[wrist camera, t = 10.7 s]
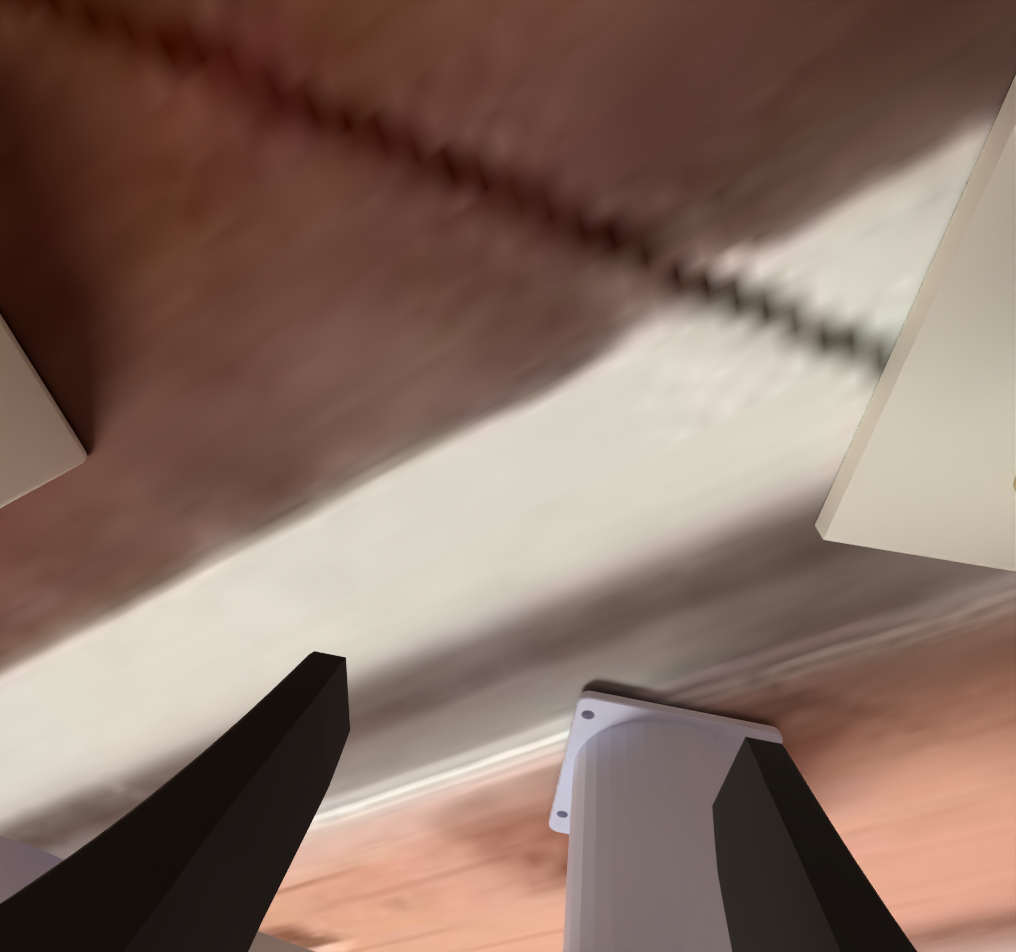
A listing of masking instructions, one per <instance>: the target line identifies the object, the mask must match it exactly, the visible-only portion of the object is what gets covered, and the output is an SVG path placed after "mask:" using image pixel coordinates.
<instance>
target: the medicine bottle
mask: <svg viewBox="0 0 1016 952" xmlns="http://www.w3.org/2000/svg"><path fill="white" fill-rule="evenodd" d="M86 459H87V453H86V451H85V449H84V447H83V446H82V444H81V443H80V441H79V439H78V438H77V436H76V435H75V433H74V431H73V430H72V428H71V427H70V425H69V423H68V422H67V420H66V419H65V417H64V415H63V414H62V412H61V411H60V409H59V407H58V406H57V404H56V402H55V401H54V399H53V398H52V396H51V394H50V393H49V391H48V390H47V388H46V386H45V385H44V383H43V382H42V380H41V378H40V377H39V375H38V374H37V372H36V370H35V369H34V367H33V366H32V364H31V362H30V361H29V359H28V357H27V356H26V354H25V353H24V351H23V349H22V348H21V346H20V345H19V343H18V341H17V340H16V338H15V337H14V335H13V333H12V332H11V330H10V329H9V327H8V325H7V324H6V322H5V321H4V319H3V317H2V316H1V314H0V508H1V507H3V506H5V505H7V504H9V503H10V502H12V501H14V500H16V499H18V498H20V497H21V496H23V495H25V494H27V493H29V492H31V491H32V490H34V489H36V488H38V487H40V486H42V485H43V484H45V483H47V482H49V481H51V480H53V479H54V478H56V477H58V476H60V475H62V474H64V473H65V472H67V471H69V470H71V469H73V468H75V467H76V466H78V465H80V464H82V463H83V462H84V461H85V460H86Z"/></svg>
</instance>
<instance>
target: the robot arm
mask: <svg viewBox="0 0 1016 952" xmlns="http://www.w3.org/2000/svg"><path fill="white" fill-rule="evenodd" d="M586 710H589V711H586ZM349 731H350V722H349V704H348V687H347V670H346V658H345V657H340V656H335V655H330V654H325V653H320V652H315V651H314V652H313V653H311V654H309V655H308V656H307V657H306V658H305V659H304V660H303V661H302V662H301V663H300V664H299V665H298V666H297V667H296V668H295V669H294V670H293V671H292V672H291V673H290V674H289V675H287V676H286V677H285V678H284V679H283V680H282V681H281V682H280V683H279V684H278V685H277V686H276V687H275V688H274V689H273V690H272V691H271V692H270V693H269V694H268V695H266V696H265V697H264V698H263V699H262V700H261V701H260V702H259V703H258V704H257V705H256V706H255V707H254V708H252V709H251V710H250V711H249V712H248V713H247V714H246V715H245V716H244V717H243V718H241V719H240V720H239V721H238V722H237V723H236V724H235V725H234V726H232V727H231V728H230V729H229V730H228V731H227V732H226V733H225V734H223V735H222V736H221V737H220V738H219V739H218V740H217V741H216V742H214V743H213V744H212V745H211V746H210V747H209V748H208V749H206V750H205V751H204V752H203V753H202V754H201V755H199V756H198V757H197V758H196V759H195V760H193V761H192V762H191V763H190V764H189V765H187V766H186V767H185V768H184V769H182V770H181V771H180V772H179V773H178V774H176V775H175V776H174V777H173V778H172V779H170V780H169V781H168V782H167V783H165V784H164V785H163V786H162V787H161V788H159V789H158V790H157V791H156V792H154V793H153V794H152V795H151V796H150V797H148V798H147V799H146V800H144V801H143V802H142V803H141V804H139V805H138V806H137V807H135V808H134V809H133V810H132V811H130V812H129V813H128V814H126V815H125V816H124V817H123V818H121V819H120V820H119V821H117V822H116V823H115V824H113V825H112V826H111V827H109V828H108V829H107V830H105V831H104V832H102V833H101V834H100V835H98V836H97V837H96V838H94V839H93V840H92V841H90V842H89V843H87V844H86V845H85V846H83V847H82V848H81V849H79V850H78V851H76V852H75V853H74V854H72V855H71V856H69V857H68V858H67V859H65V860H64V861H62V862H61V863H59V864H58V865H56V866H55V867H54V868H52V869H51V870H49V871H48V872H46V873H45V874H43V875H42V876H40V877H39V878H37V879H36V880H35V881H33V882H32V883H30V884H29V885H27V886H26V887H24V888H23V889H21V890H20V891H19V892H17V893H16V894H14V895H13V896H12V897H10V898H8V899H7V900H5V901H4V902H2V903H1V904H0V952H248V950H249V949H250V946H251V944H252V942H253V940H254V938H255V935H256V933H257V931H258V929H259V927H260V925H261V922H262V920H263V918H264V916H265V914H266V912H267V910H268V908H269V906H270V904H271V902H272V900H273V898H274V896H275V894H276V892H277V890H278V888H279V886H280V884H281V882H282V880H283V878H284V876H285V874H286V872H287V870H288V868H289V866H290V864H291V862H292V860H293V858H294V856H295V854H296V852H297V850H298V848H299V846H300V844H301V842H302V840H303V838H304V836H305V834H306V832H307V830H308V828H309V826H310V824H311V822H312V820H313V818H314V816H315V814H316V812H317V810H318V808H319V806H320V804H321V802H322V800H323V798H324V796H325V794H326V792H327V789H328V787H329V785H330V782H331V780H332V777H333V774H334V772H335V769H336V767H337V764H338V762H339V759H340V756H341V753H342V751H343V748H344V745H345V742H346V740H347V737H348V734H349ZM782 743H783V739H782V736H781V733H780V730H778V729H777V728H776V727H773V726H769V725H764V724H759V723H754V722H749V721H744V720H738V719H733V718H728V717H723V716H718V715H713V714H708V713H703V712H698V711H692V710H687V709H682V708H677V707H672V706H667V705H662V704H657V703H651V702H646V701H641V700H636V699H631V698H626V697H621V696H616V695H610V694H605V693H600V692H595V691H585V692H582V693H581V694H580V695H579V696H578V700H577V704H576V708H575V712H574V716H573V720H572V725H571V729H570V733H569V737H568V741H567V746H566V750H565V754H564V758H563V762H562V766H561V771H560V775H559V779H558V783H557V787H556V791H555V796H554V800H553V804H552V808H551V812H550V817H549V826H550V827H551V829H553V830H554V831H557V832H561V833H566V834H569V848H568V866H567V885H566V903H565V921H564V939H563V952H917V951H916V949H915V948H914V947H913V945H912V944H911V942H910V941H909V939H908V938H907V937H906V935H905V934H904V932H903V931H902V929H901V928H900V926H899V925H898V924H897V922H896V921H895V919H894V918H893V916H892V915H891V913H890V912H889V910H888V909H887V907H886V906H885V904H884V903H883V901H882V900H881V898H880V897H879V895H878V894H877V892H876V891H875V889H874V888H873V886H872V885H871V883H870V882H869V880H868V879H867V877H866V876H865V874H864V873H863V871H862V870H861V868H860V867H859V865H858V864H857V862H856V861H855V859H854V858H853V856H852V855H851V853H850V852H849V850H848V848H847V847H846V845H845V844H844V842H843V841H842V839H841V838H840V836H839V834H838V833H837V831H836V830H835V828H834V826H833V825H832V823H831V822H830V820H829V818H828V817H827V815H826V814H825V812H824V811H823V809H822V807H821V806H820V804H819V803H818V801H817V799H816V798H815V796H814V794H813V793H812V791H811V790H810V788H809V786H808V785H807V783H806V781H805V780H804V778H803V777H802V775H801V773H800V772H799V770H798V768H797V767H796V765H795V764H794V762H793V760H792V759H791V757H790V756H789V754H788V752H787V751H786V749H785V748H784V746H783V745H782Z"/></svg>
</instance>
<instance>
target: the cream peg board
mask: <svg viewBox="0 0 1016 952" xmlns="http://www.w3.org/2000/svg"><path fill="white" fill-rule="evenodd" d="M815 527H816V528H817V530H818V532H819V533H820V535H821V537H822V538H823V540H828V541H834V542H840V543H846V544H852V545H858V546H864V547H870V548H876V549H883V550H889V551H895V552H901V553H907V554H913V555H919V556H925V557H931V558H937V559H943V560H949V561H955V562H961V563H967V564H973V565H979V566H985V567H991V568H997V569H1003V570H1009V571H1015V572H1016V75H1015V77H1014V80H1013V82H1012V84H1011V86H1010V89H1009V91H1008V93H1007V95H1006V98H1005V100H1004V102H1003V104H1002V107H1001V109H1000V111H999V113H998V116H997V118H996V120H995V122H994V125H993V127H992V129H991V131H990V134H989V136H988V138H987V140H986V142H985V145H984V147H983V149H982V151H981V154H980V156H979V158H978V160H977V163H976V165H975V167H974V169H973V172H972V174H971V176H970V178H969V181H968V183H967V185H966V187H965V190H964V192H963V194H962V196H961V199H960V201H959V203H958V205H957V207H956V210H955V212H954V214H953V216H952V219H951V221H950V223H949V225H948V228H947V230H946V232H945V234H944V237H943V239H942V241H941V243H940V246H939V248H938V250H937V252H936V255H935V257H934V259H933V261H932V264H931V266H930V268H929V270H928V272H927V275H926V277H925V279H924V281H923V284H922V286H921V288H920V290H919V293H918V295H917V297H916V299H915V302H914V304H913V306H912V308H911V311H910V313H909V315H908V317H907V320H906V322H905V324H904V326H903V329H902V331H901V333H900V335H899V338H898V340H897V342H896V344H895V346H894V349H893V351H892V353H891V355H890V358H889V360H888V362H887V364H886V367H885V369H884V371H883V373H882V376H881V378H880V380H879V382H878V385H877V387H876V389H875V391H874V394H873V396H872V398H871V400H870V403H869V405H868V407H867V409H866V411H865V414H864V416H863V418H862V420H861V423H860V425H859V427H858V429H857V432H856V434H855V436H854V438H853V441H852V443H851V445H850V447H849V450H848V452H847V454H846V456H845V459H844V461H843V463H842V465H841V468H840V470H839V472H838V474H837V476H836V479H835V481H834V483H833V485H832V488H831V490H830V492H829V494H828V497H827V499H826V501H825V503H824V506H823V508H822V510H821V512H820V515H819V517H818V519H817V521H816V524H815Z"/></svg>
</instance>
